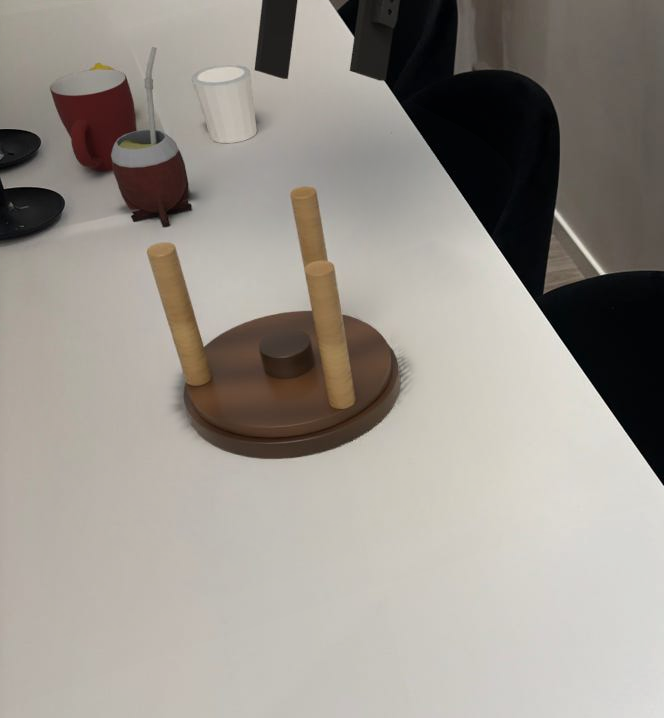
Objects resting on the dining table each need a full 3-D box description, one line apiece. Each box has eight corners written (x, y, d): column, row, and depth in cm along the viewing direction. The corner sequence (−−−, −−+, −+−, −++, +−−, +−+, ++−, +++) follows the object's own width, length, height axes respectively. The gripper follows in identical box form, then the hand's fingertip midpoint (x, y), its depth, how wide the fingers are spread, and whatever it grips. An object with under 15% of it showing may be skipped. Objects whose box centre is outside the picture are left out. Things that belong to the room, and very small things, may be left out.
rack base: (173, 363, 81) (168, 347, 80) (365, 316, 86) (363, 301, 84) (208, 483, 70) (203, 467, 69) (429, 422, 74) (427, 406, 73)
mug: (138, 195, 106) (110, 102, 99) (65, 199, 106) (32, 106, 99) (158, 156, 114) (134, 67, 107) (90, 159, 114) (62, 71, 107)
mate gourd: (133, 235, 99) (85, 84, 89) (124, 204, 104) (78, 58, 94) (205, 220, 101) (167, 70, 90) (193, 190, 106) (155, 46, 96)
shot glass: (242, 118, 121) (230, 59, 116) (272, 132, 117) (261, 72, 112) (194, 134, 118) (180, 75, 113) (224, 150, 114) (210, 88, 109)
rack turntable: (174, 348, 80) (132, 211, 72) (359, 304, 84) (339, 169, 76) (208, 460, 69) (164, 314, 61) (419, 404, 73) (404, 259, 65)
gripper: (514, -255, 63) (456, 90, 69) (308, -188, 80) (275, 85, 86) (426, -318, 58) (371, 61, 64) (226, -231, 75) (196, 62, 80)
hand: (316, 75), depth 75 cm, fingers open, 13 cm apart
